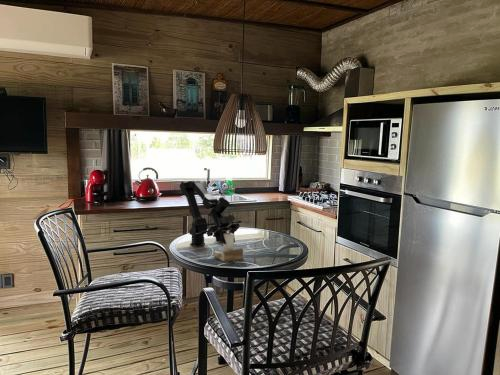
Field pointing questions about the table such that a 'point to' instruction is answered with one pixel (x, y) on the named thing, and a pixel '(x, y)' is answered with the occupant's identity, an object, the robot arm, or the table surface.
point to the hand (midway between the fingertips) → (230, 243)
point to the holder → (229, 255)
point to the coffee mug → (222, 233)
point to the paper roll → (228, 242)
